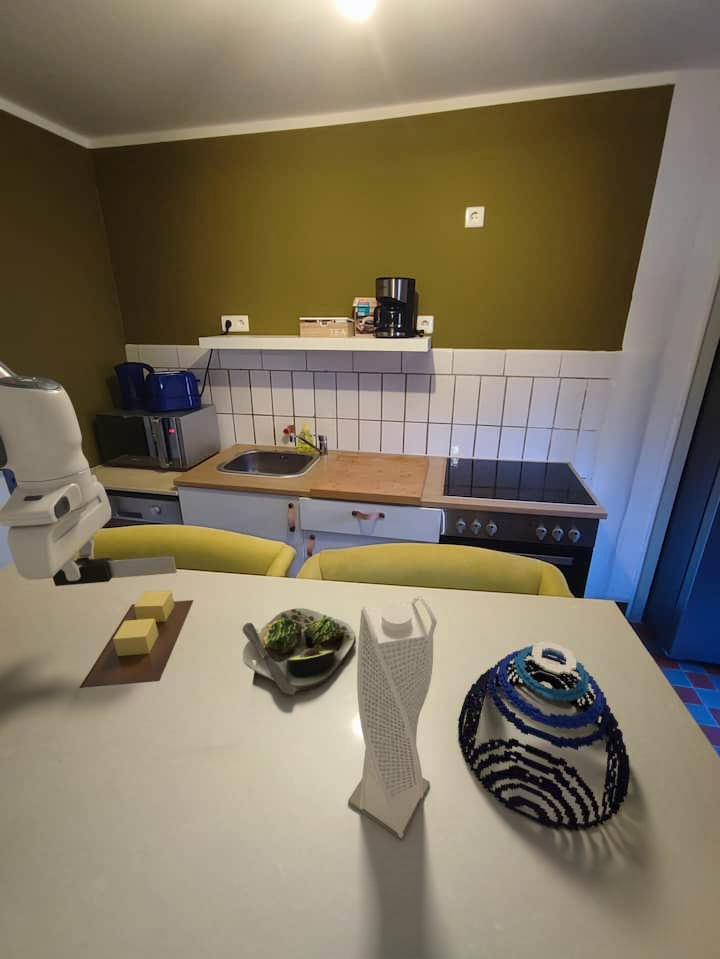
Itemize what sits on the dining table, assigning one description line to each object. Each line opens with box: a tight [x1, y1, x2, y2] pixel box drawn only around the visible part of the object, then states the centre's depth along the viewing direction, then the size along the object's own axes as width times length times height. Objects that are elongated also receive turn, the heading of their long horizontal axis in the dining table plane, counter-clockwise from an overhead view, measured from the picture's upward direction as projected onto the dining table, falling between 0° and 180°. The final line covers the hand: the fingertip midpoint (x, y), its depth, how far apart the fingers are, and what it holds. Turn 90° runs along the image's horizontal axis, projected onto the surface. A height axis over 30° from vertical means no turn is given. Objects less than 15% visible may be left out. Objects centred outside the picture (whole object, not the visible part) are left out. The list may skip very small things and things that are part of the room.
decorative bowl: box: [457, 640, 631, 832], centre depth 53 cm, size 20×20×14 cm
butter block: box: [113, 618, 158, 656], centre depth 71 cm, size 5×4×4 cm
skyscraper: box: [347, 594, 438, 841], centre depth 44 cm, size 8×8×28 cm
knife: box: [52, 555, 178, 587], centre depth 68 cm, size 18×2×3 cm, turn 96°
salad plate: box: [242, 607, 357, 696], centre depth 71 cm, size 19×18×5 cm
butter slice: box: [134, 590, 175, 622], centre depth 78 cm, size 5×4×4 cm
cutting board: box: [79, 599, 194, 689], centre depth 73 cm, size 16×20×2 cm
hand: (81, 571), depth 67 cm, fingers closed on knife, 2 cm apart
